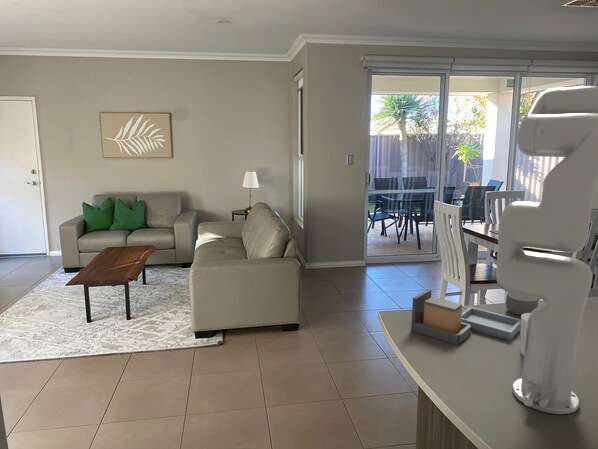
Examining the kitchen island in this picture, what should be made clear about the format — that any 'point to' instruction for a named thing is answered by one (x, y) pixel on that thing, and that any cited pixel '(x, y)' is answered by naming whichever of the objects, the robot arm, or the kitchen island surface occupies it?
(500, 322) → the tray
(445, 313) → the block
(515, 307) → the smart speaker
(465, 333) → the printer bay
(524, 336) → the white cup
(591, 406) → the kitchen island surface
